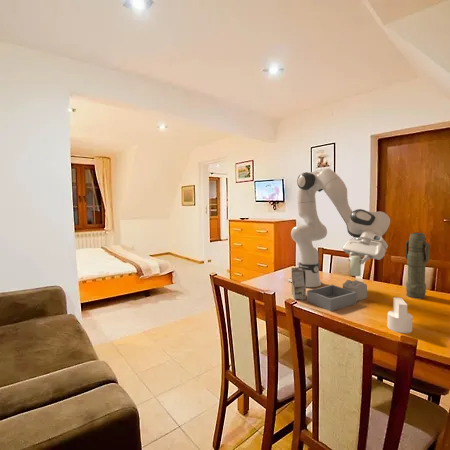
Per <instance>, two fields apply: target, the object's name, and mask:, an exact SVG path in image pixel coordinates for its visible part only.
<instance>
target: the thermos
mask: <svg viewBox="0 0 450 450" xmlns="http://www.w3.org/2000/svg"><path fill="white" fill-rule="evenodd" d="M430 246H431V245H430V244H429V243H428V242H427V238H426V235H425V233H423V232H412V233H410V235H409V237H408V240H406V242H405V250H404V251H405V253H404V254H405V259H406V264H407V281H406V286H405V287H406V288H405V289H406V290H405V291H406V295H405V296H406V297H409V298H411V299H418V300H421V299H425V298H426V292H427V291H426V290H427V284H426V266H427V263H428V262H429V261H430V248H431V247H430Z"/></svg>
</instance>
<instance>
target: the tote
mask: <svg viewBox="0 0 450 450" xmlns="http://www.w3.org/2000/svg"><path fill="white" fill-rule="evenodd" d="M306 298H307V299H306V301H308V303H309V304H312V305H315V306H317V307H320V308H321V309H324V310H326V309H327V311H329V312H332V311H336V310H340V309H343V308H346V307H350V306H352V305H356V304H357V300H356V292H354V291H350V290H347V289H344V288H343V287H341V286H338V285H334V284H330V285H326V286H322V287H321V286H320V287H316V288H314V289H309V290H307V292H306Z"/></svg>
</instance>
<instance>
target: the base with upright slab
mask: <svg viewBox="0 0 450 450" xmlns="http://www.w3.org/2000/svg"><path fill="white" fill-rule="evenodd" d="M392 300H393V301H392V310H388V311H387V322H386V323H387V328H388V329H389V330H390V331H392V332H396V333H400V334H411V333H412V332H413V315H412V314H411V313H409V312H408V304H407V302H406V301H404V299H403V298H402V297H398V296H396V297H395V296H394V297H393V299H392Z"/></svg>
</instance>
